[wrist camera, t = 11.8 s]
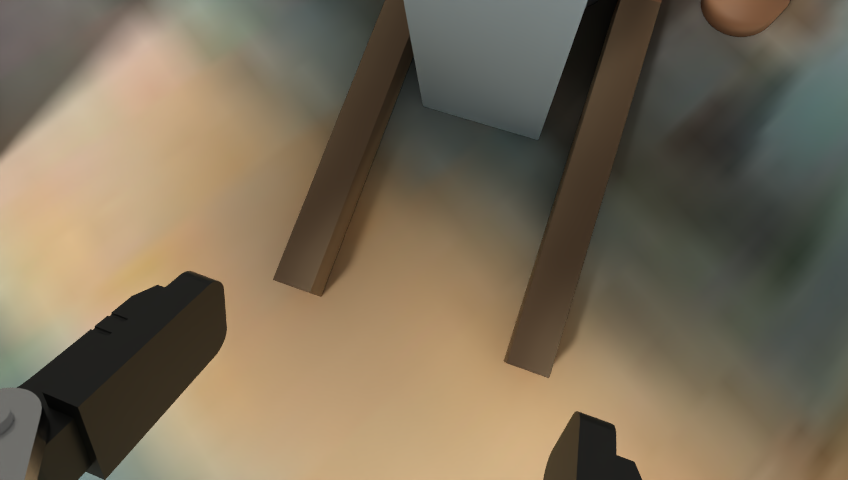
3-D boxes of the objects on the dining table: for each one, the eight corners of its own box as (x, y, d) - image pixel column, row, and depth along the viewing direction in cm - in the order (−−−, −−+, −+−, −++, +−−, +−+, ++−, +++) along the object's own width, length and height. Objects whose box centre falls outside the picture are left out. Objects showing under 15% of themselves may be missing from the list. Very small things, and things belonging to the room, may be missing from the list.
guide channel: (183, 247, 21) (137, 231, 18) (386, -219, 25) (375, -294, 22) (672, 421, 18) (712, 436, 15) (813, -136, 22) (867, -208, 19)
